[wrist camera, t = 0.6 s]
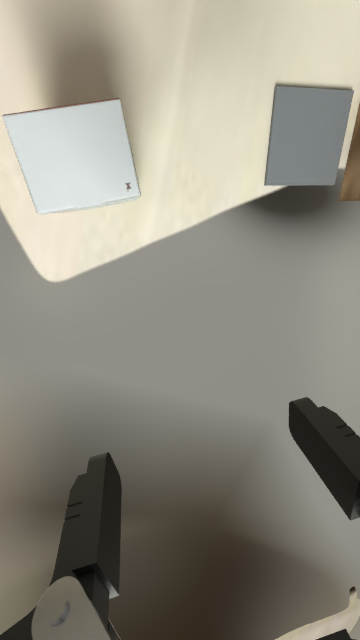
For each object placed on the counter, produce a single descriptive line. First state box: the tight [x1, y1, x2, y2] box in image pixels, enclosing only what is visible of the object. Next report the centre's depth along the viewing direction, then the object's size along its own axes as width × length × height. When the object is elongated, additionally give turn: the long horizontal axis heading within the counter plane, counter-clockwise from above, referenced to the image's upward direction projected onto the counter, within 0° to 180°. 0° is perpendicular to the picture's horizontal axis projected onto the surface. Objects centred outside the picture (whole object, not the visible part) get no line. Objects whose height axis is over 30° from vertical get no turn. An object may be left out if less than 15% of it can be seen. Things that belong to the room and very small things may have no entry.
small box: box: [2, 98, 141, 214], centre depth 24 cm, size 8×6×13 cm
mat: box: [265, 86, 354, 185], centre depth 32 cm, size 10×10×1 cm
